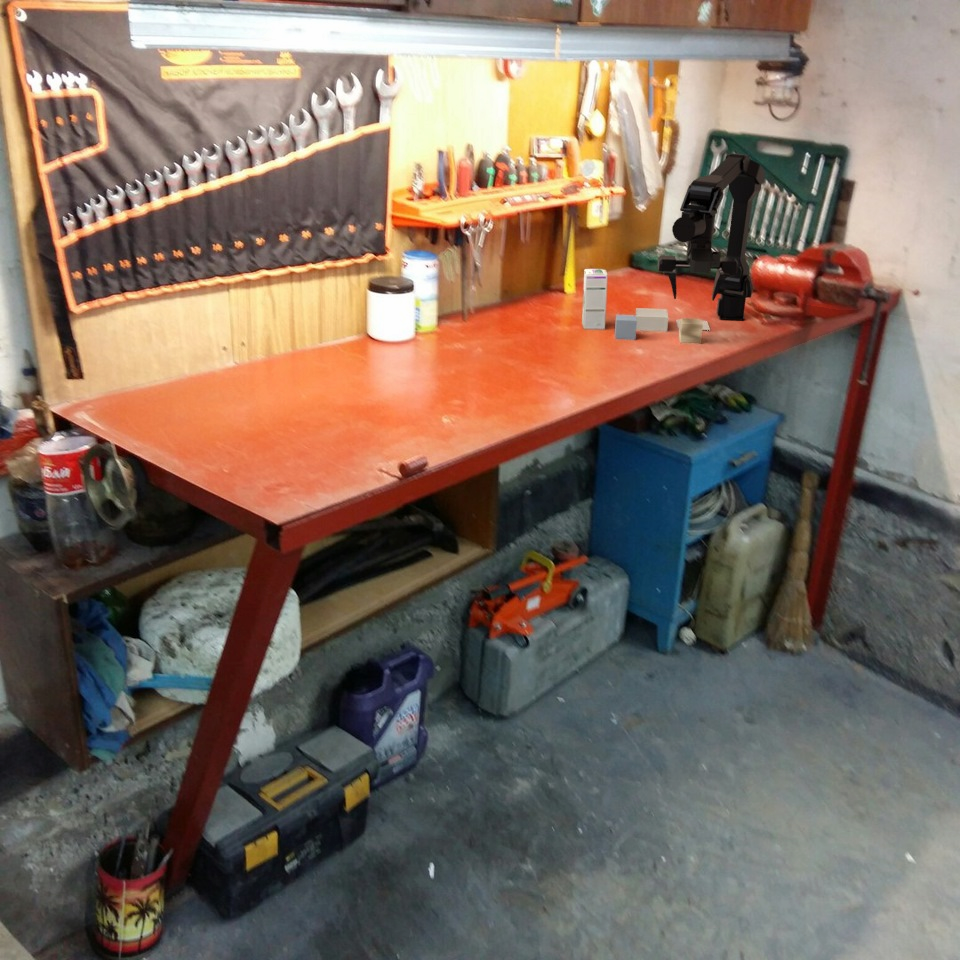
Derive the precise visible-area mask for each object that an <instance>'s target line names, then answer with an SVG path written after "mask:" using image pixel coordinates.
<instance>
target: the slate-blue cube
mask: <svg viewBox="0 0 960 960" xmlns="http://www.w3.org/2000/svg"><path fill="white" fill-rule="evenodd" d="M614 325H615V327H614V340H621V339H623V340H626V341H629V340H630V341H636V337H637V336H636V335H637V330H636V325H637V319H636V314H635V315H633V314H615V324H614ZM623 340H622V341H623Z"/></svg>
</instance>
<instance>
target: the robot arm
mask: <svg viewBox="0 0 960 960" xmlns="http://www.w3.org/2000/svg"><path fill="white" fill-rule="evenodd" d="M765 173H766V172H765V169H764V168H763V167H762V165H761V164H760V163H758V162H756V161H755V160H754V159H753V160H752V159H751V158H750V157H749V155H747V154H745V153H744V154H743V153H732V152H730V153H728V154H726V156H725V159H724V160H723V161H722V162H721V163H720V164H719V165H718V166H717V167H716V168H715V169H714V170H713V171H712V172H711V173H710V174H708V175H705V176H699V177H698V178H695V179H694V180H693V181H692V182H691V183H690V185H688V188H687V190H686V192H685V196H684V198H683V201H682V203H681V207H680V209H679V210H680V212H681V217H678V218H677V219H676V220H675V221H674V222H673V225H672V227H671V228H672V229H671V231H672V235H673V237H674V238H675V240H677V241H679V242H681V243H687V245H686V256H685V259H676V255H669V254H668V255H667V254H665V255H662V254H661V255H659V257H658V258H657V270H658V271H659V272H663V275H665V276H668V279H669V281H670V287H671V289H672V290H671V291H672V295H673V299H674V300H676V299H677V271H676V269H678V268H679V269H680V268H681V269H683V268H684V269H689V271H690V273H693V274H697V273H704V274H710V273H711V270H713V269H714V270H716V273H715V278H714V284H713V289H712V295H711V301H715V299H716V297H717V295H720V297H718V298H717V303H716V305H717V306H716V315H717V317H718V318H719V320H728V321H730V320H731V321H735V320H736V321H745V307H746V300H747V299H750V298H752V294H753V293H754V292H753V291H754V286H753V283H752V278H751V276H750V269H751V268H750V266H749V264H748V261H747V259H746V249H747V242H748V236H749V230H750V224H751V223H750V222H751V215H752V207H753V200H754V199H755V198H756V196H758V194H759V193H760V192H761V190H762V185H763V183H764V180H765V177H766V176H765V175H766V174H765ZM727 187H728V191H729V193H730V196H731V197H732V201H733V202H732V208H731V209H732V210H731V219H730V223H729V224H730V225H729V233H728V240H727V247H726V250H727V251H726V256H725V257H724V256H722V255H721V254H722V253H721V251H713V249H712V246H713V238H714V237H713V236H714V229H715V228H714V226H715V219H716V215H717V214H718V208H719V207H720V204H721V202H722V200H723V199H724V190H725V189H726V188H727Z"/></svg>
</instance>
